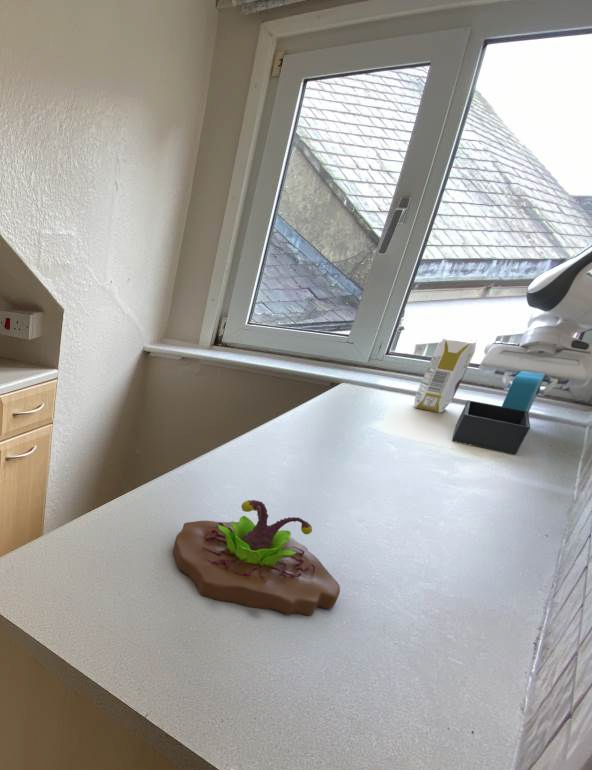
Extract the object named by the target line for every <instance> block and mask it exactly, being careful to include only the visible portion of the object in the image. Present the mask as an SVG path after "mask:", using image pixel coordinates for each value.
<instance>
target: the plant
mask: <svg viewBox="0 0 592 770" xmlns="http://www.w3.org/2000/svg"><path fill="white" fill-rule="evenodd" d="M241 511H242V512H246V513H250V512H252V511H254V512H256V516H257V522H256V524H254V522H253V521H252V520H251V519H250V518H248V517H247V516H245V515H242V516H240V517H239V522H238V521H237V522H236V521H234V520H231V521H228V522H227V521H215V520H196V521H189V522H188V521H187V522H184V524H183V526H182V528H181V530H180V531H179V532H178V533H177V534H176V536H175V540H174V544H173V549H172V555H173V557H174V559H175V563H176V566H177V569H178V570H179V571H180V572H182V573H183V574H185V575H186V576H188V577H189V578H190V580H191V581H192V582H193V583H194V585H195V587H196V588H197V590H198V592H199V594H200V596H204V597H207V598H209V599H213V600H216V601H220V602H230V603H236V604H239V605H241V606H245V607H249V608H257V609H265V610H273V611H277V612H279V613H281V614H284V615H287V616H289V615H291V614H301V615H304V616H312V615H313V614H314V613H315V610H316V608H317V607H318V608H323V609H327V610H331V609H332V608H334V606H335V605H336V603H337V601H338V598H339V595H340V592H341V587H340V584H339V582H338V581H337V580H336V579H335V578H334V577H333V575H331V573H330V572H329V571H328V570H327V568H326V567H325V566H324V565H323V564H322V562H321V561H320V559H318V557H316V555H314V554H313V553H312V552H310V551H309V550H308V547H306V546H305V545H303V544H302V543H299V542H298V541H297V540H295V539H294V538H292V537H291V536H292V531H290V530H284V529H282V530H280V529H281V528H282V527H284V526H285V525H287V524H289V523H291V522H294V523H296V522H298V523H300V524H301V528H300V531H301V532H302V534H304V535H310V534H311V533H312V532H313V527H312V525H311V524H310V523H309V522H308V521H305V520H304V519H303V518H300V517H295V516H293V517H290V516H288V517H284V518H283V519H282V518H281V519H280V520H277V521H276V522H275V523H273V524H270V525H268V518H269V514H268V509H267V507H266V505H265V503H264V502H262V501H260V500H255V499H252V500H251V499H249V500H245V501H243V503H242V504H241Z"/></svg>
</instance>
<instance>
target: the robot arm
mask: <svg viewBox="0 0 592 770" xmlns="http://www.w3.org/2000/svg"><path fill="white" fill-rule="evenodd" d="M590 271H592V242H590V243H589V244H587V245H586V246H584V247H583V248H581V249H580V250H579V251H577V252H576V253H574V254H573V255H571V256H570V257H568V258H567V259H565V260H564V261H562V262H560V263H558V264H557V265H555V266H553V267H551V268H549V269H547V270H546V271H544V272H543V273H541V274H540V275H538V276H537V277H536V278H534V280H533V281H532V282H530V284H529V285H528V286H527V288H526V292H525V293H526V296H525V297H526V302H527V305H528V307H530V308H534V309H533V311H532V313H531V315H530V317H529V318H528V319H529V320H528V322H527V330H525V331H524V333H523V334H522V337H521V339H520V341H519V343H513V342H504V341H495V342H490V343H489V344H487V345H486V346H485V348H484V351H483V352H484V354H485V355H484V357H483V359H482V361H481V362H480V365H479V366H478V371H479V372H480V373H481V374H485V375H487V374H488V375H494V376H500V377H501V381H502V383H503V384H504V386H503V389H502V390H503V391H509V389H510V386H511V384H512V382H513V380H512V379H514V378H515V376H516V375H517V374H518V373H519V372H520V371H529V372H538V373H545V374H546V375H545V378H544V380H543V382H542V383H545V384H546V385H545V386H543V385H541V386H540V388H539V390H538V392H537V394H536V396H540V397H545V396H546V394H547V393H548V392H549V391H550V390H551V389H552V388H554V387H556V385H558V386H559V385H560V386H565V387H571V388H579V389H581V388H583V387H585V386H587V385H588V384H589V383H590V382H591V380H592V343H590V342H587V341H584V340H581V339H578V338H576V337H573V335H574V334H581V333H582V334H583V333H587V332H591V331H592V276H590V275H587V274H588V273H589V272H590ZM511 378H512V379H511Z"/></svg>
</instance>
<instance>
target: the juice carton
mask: <svg viewBox="0 0 592 770" xmlns="http://www.w3.org/2000/svg"><path fill="white" fill-rule="evenodd" d="M476 347H477V340H476V339H470V338H465V337H458V336H449V335H447V336H446V337H445V338H443V339H442V340H441V342H440V343H439V344H438V345H437V346H436V348H435V350H434V352H433V355H432V357H431V359H430V361H429V364H428V366H427V368H426V371H425V373H424V375H423V377H422V380H421V382H420V384H419V387H418V388H417V392H416V394H415V397H414V402H413V407H414V408H416V409H420V410H426V411H429V412H430V411H431V412H434V413H439V414H440V413H441V414H442V413H443V412H444V410H445V409H446V408H447V407H448V406H449V405H450V403H451V402H452V401H453V400H454V398H455V395H456V393H457V391H458V389H459V387H460V384H461V382H462V380H463V378H464V376H465V374H466V372H467V369H468V367H469V365H470V363H471V361H472V359H473V357H474V354H475V352H476Z"/></svg>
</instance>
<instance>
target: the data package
mask: <svg viewBox="0 0 592 770" xmlns="http://www.w3.org/2000/svg"><path fill="white" fill-rule="evenodd" d="M545 375H546V374H545V373H538V372H529V371H520V372H519V373H518V374H517V375H516V376H515V378H513V380H512V384H511V386H510V389H509V390H507V393H506V396H505V397H504V400H503V403H502V405H501V407H507V408H512V409H518V410H523V411H528V414H530V413H529V412H530V410H531V408H532V406H533V404H534V402H535V399H536V397H537V395H536V394H537V392H538V390H539V388H540V386H542V384H543V383H544V382H543V380H544V378H545Z"/></svg>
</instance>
